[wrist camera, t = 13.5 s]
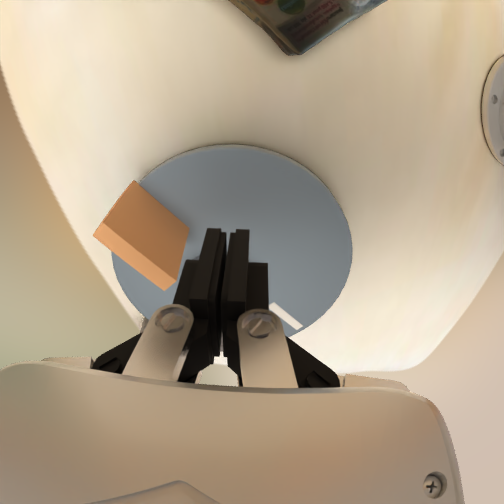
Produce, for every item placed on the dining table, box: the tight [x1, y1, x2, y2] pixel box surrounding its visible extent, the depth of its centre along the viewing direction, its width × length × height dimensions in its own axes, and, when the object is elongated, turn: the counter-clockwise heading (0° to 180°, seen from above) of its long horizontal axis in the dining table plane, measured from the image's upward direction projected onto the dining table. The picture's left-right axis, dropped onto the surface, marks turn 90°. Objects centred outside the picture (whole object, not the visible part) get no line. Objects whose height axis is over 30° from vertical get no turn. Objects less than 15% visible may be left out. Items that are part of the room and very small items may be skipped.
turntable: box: [93, 144, 352, 337], centre depth 24 cm, size 20×20×8 cm
